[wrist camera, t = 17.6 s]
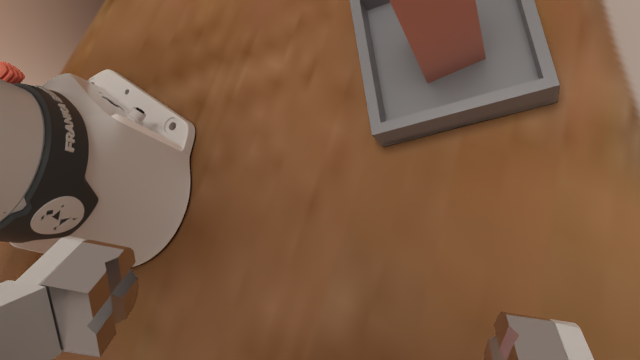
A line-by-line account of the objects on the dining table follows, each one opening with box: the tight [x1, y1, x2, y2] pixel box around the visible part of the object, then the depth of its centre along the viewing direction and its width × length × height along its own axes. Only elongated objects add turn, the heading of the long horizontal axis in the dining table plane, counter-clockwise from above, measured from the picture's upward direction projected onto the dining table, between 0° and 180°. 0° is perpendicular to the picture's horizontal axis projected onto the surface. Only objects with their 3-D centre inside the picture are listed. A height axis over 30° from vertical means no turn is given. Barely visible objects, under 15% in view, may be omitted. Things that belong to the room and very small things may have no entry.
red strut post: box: [389, 0, 486, 83], centre depth 32 cm, size 5×5×12 cm
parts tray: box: [350, 0, 560, 147], centre depth 37 cm, size 13×13×3 cm
